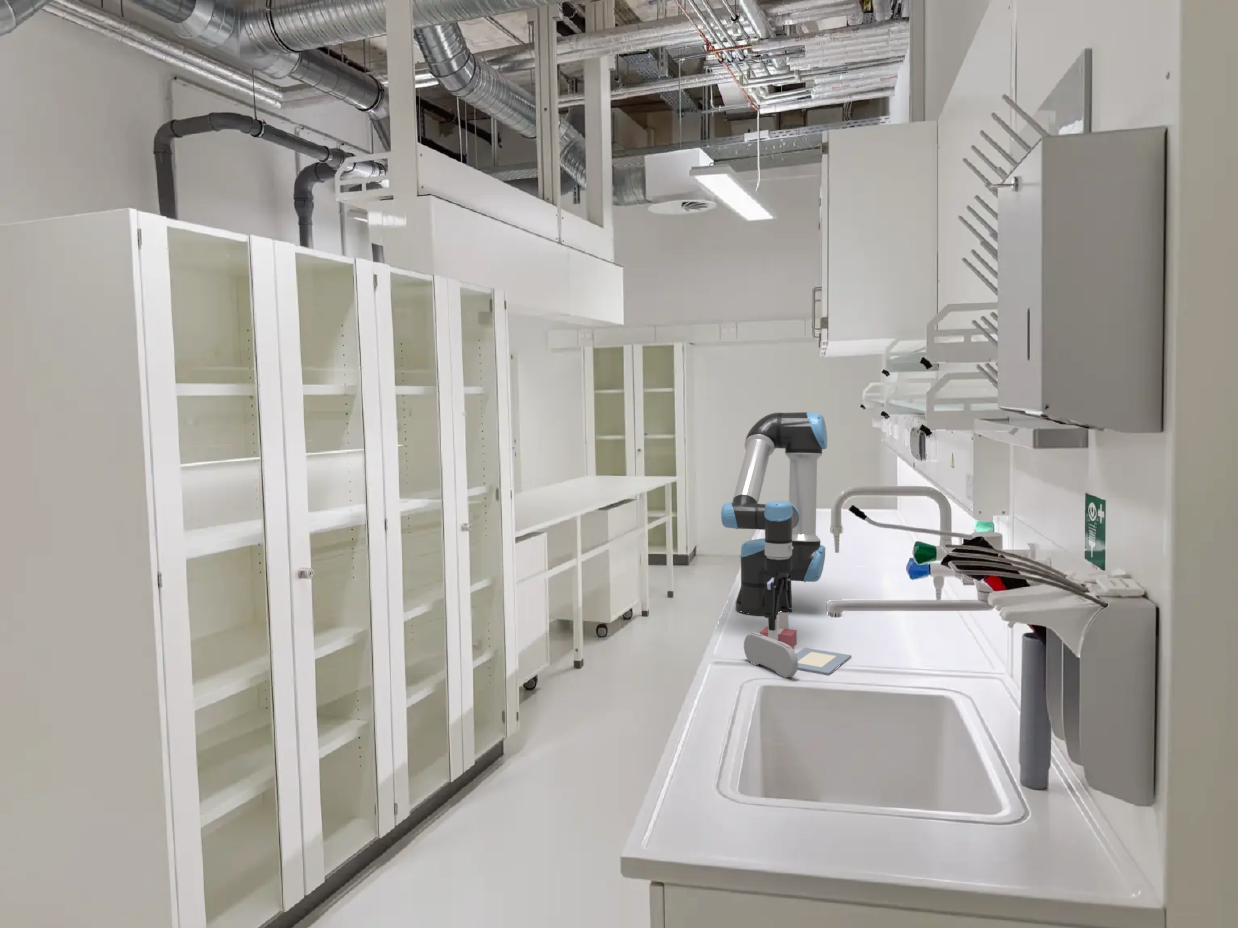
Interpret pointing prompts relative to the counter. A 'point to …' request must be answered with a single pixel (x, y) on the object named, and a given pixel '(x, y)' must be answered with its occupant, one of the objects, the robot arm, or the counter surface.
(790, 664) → the game controller
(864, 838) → the counter surface
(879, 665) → the counter surface
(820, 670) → the grey flat board
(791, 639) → the card deck box
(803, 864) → the counter surface
